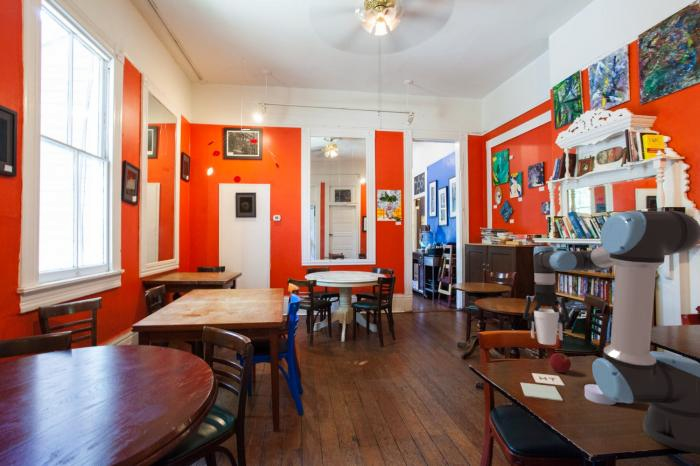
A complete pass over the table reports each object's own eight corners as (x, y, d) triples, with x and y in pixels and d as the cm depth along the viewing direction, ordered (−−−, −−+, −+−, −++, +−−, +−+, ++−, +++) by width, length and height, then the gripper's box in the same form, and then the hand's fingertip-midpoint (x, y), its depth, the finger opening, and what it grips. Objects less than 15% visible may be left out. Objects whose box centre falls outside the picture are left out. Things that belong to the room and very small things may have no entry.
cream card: (564, 385, 133) (564, 385, 133) (535, 382, 136) (535, 381, 136) (558, 376, 142) (558, 375, 142) (531, 373, 146) (531, 372, 146)
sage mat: (562, 401, 120) (562, 399, 120) (524, 396, 124) (524, 395, 124) (554, 387, 131) (554, 386, 131) (520, 383, 135) (520, 382, 135)
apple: (553, 374, 144) (552, 355, 145) (548, 367, 152) (547, 349, 152) (573, 376, 142) (573, 357, 142) (567, 369, 150) (566, 351, 150)
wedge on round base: (626, 398, 122) (582, 391, 128) (625, 379, 122) (582, 373, 128) (634, 409, 114) (587, 401, 120) (633, 389, 114) (586, 382, 120)
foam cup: (564, 346, 134) (562, 313, 134) (538, 345, 136) (537, 312, 136) (554, 340, 143) (553, 309, 144) (530, 339, 145) (529, 308, 146)
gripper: (573, 283, 140) (575, 338, 139) (514, 281, 148) (515, 334, 147) (578, 285, 133) (580, 343, 132) (516, 283, 141) (518, 338, 140)
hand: (546, 338), depth 139 cm, fingers closed on foam cup, 9 cm apart
